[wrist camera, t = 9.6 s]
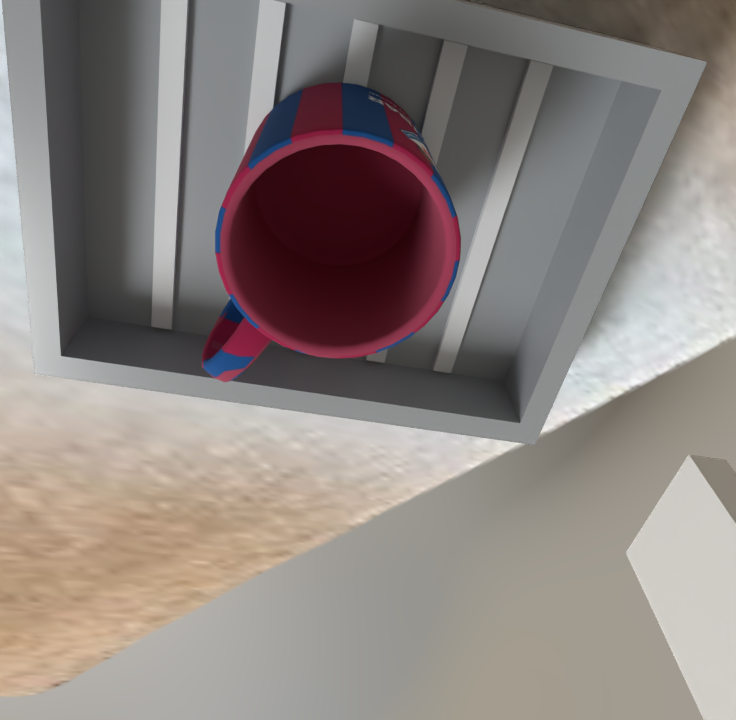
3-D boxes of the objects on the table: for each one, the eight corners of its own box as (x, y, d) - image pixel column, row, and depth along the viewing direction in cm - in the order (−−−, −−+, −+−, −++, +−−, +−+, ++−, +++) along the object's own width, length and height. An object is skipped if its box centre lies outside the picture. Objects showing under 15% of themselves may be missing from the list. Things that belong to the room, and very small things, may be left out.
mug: (467, 188, 23) (509, 264, 18) (276, 344, 27) (258, 451, 21) (345, 35, 20) (348, 67, 15) (148, 231, 24) (87, 320, 18)
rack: (55, -100, 19) (-8, -112, 16) (648, 45, 22) (707, 62, 19) (73, 319, 27) (34, 374, 24) (511, 387, 30) (534, 444, 27)
